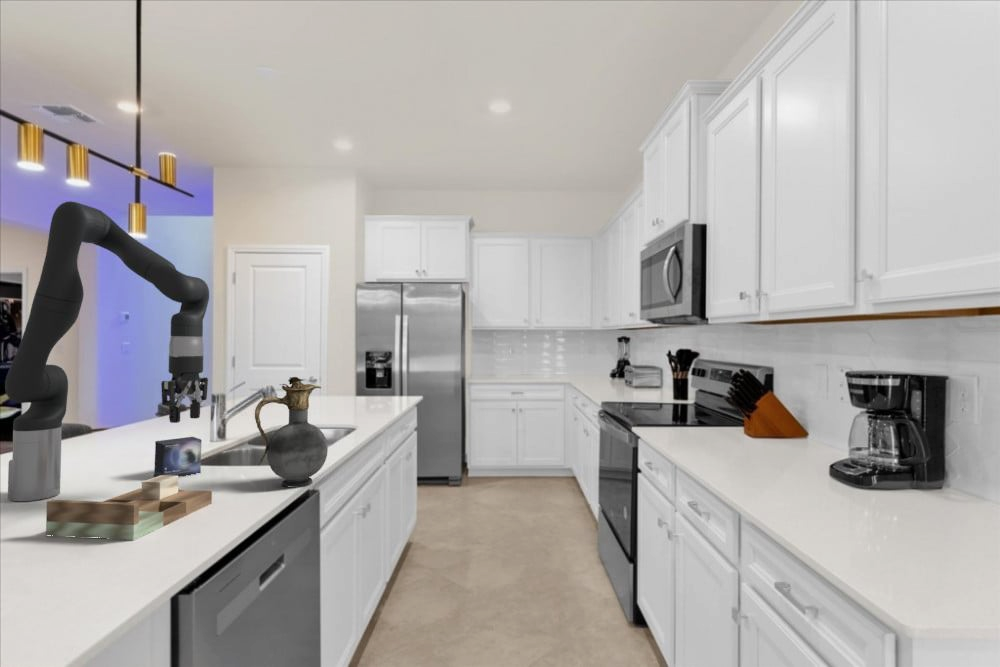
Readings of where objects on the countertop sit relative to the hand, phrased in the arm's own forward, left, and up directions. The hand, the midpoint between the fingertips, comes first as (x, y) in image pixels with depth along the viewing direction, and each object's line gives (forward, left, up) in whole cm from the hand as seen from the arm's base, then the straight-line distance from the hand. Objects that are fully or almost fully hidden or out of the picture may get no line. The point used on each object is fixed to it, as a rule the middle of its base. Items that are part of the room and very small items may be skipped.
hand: (185, 420), depth 131 cm
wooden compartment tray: (0, -15, -20) cm, 25 cm away
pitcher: (+21, +15, -20) cm, 32 cm away
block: (0, -8, -17) cm, 18 cm away
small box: (-17, +21, -20) cm, 34 cm away
